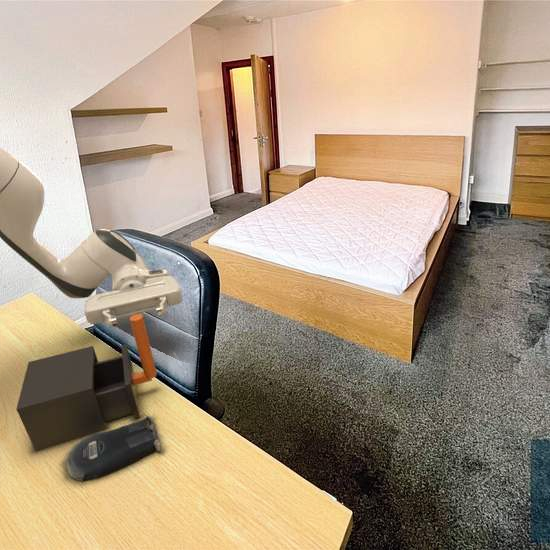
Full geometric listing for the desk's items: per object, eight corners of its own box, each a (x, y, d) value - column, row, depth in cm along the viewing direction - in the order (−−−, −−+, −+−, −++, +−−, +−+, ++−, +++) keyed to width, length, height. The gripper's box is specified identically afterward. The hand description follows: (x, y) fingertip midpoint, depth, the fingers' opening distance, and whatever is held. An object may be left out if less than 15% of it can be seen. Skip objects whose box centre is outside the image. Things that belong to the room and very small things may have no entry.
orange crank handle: (156, 368, 91) (139, 299, 84) (164, 409, 80) (146, 333, 72) (79, 389, 87) (54, 319, 79) (76, 436, 75) (46, 359, 67)
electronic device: (151, 426, 80) (66, 449, 73) (151, 406, 77) (62, 428, 71) (162, 466, 73) (69, 496, 66) (162, 445, 70) (64, 475, 63)
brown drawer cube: (106, 386, 89) (93, 345, 84) (107, 433, 77) (92, 388, 72) (45, 404, 85) (28, 361, 80) (37, 455, 73) (16, 409, 69)
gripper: (81, 287, 91) (78, 317, 79) (173, 268, 97) (183, 293, 85) (89, 311, 94) (87, 344, 82) (178, 291, 100) (188, 318, 88)
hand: (137, 318), depth 84 cm, fingers open, 8 cm apart
